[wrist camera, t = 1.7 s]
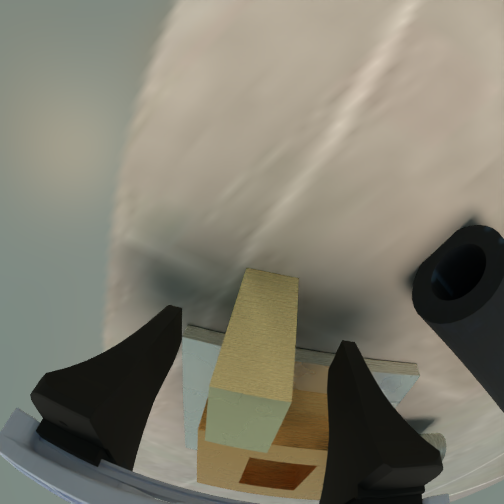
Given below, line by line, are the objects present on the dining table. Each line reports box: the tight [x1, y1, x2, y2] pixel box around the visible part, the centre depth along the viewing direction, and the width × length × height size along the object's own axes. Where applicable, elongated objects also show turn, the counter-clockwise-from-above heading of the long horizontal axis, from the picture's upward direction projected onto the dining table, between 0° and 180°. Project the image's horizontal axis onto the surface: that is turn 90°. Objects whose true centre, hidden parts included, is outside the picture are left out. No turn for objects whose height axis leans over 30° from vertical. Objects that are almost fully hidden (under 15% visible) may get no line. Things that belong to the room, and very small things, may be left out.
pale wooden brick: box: [205, 268, 299, 453], centre depth 13 cm, size 4×2×7 cm, turn 172°
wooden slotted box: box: [182, 325, 446, 500], centre depth 18 cm, size 15×20×5 cm
